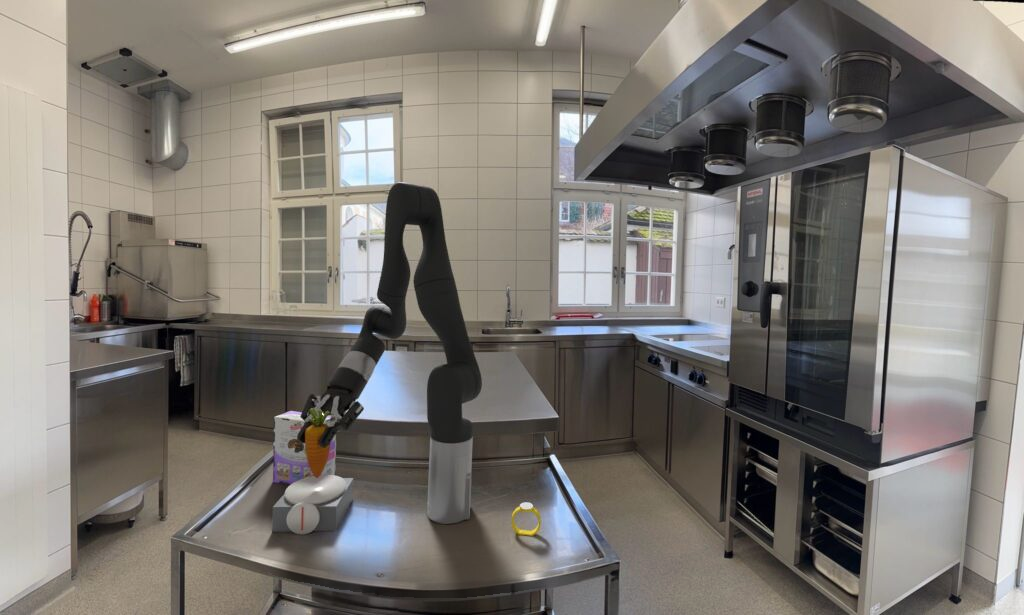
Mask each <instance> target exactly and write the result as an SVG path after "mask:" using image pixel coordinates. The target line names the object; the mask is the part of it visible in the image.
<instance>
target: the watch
mask: <svg viewBox="0 0 1024 615" xmlns="http://www.w3.org/2000/svg"><path fill="white" fill-rule="evenodd" d="M520 512H523V513H531V512H532V513H533V514H534V515H536V516H535V517H537V519H538V523H537V525H536V527H535V528H534V529H532V530H528V529H527V530H526V529H519V527H517V525H516V524H515V523H516V522H515V516H516V515H517V513H520ZM541 519H542V518H541V514H540V512H539V511H538V509H536V507H534V505H533V504H532V503H531V502H522V503H520V504H519V506H517V507H516V508H515V509H514V511H513V512H512V515H511V520H510V524H511V527H512V529H513V532H515V533H516V534H517V535H518V536H519V535H521V536H528V537H529V536H530V537H534V535H536V534H537V533H538V532H539V531H540V529H541V523H542V520H541Z"/></svg>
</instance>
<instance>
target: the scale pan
mask: <svg viewBox="0 0 1024 615" xmlns="http://www.w3.org/2000/svg"><path fill="white" fill-rule="evenodd" d="M343 478H344V477H341V476H338V475H336V474H335V475H320V476H319V477H318V478H316V477H314V476H311V477H307V478H303V479H301V480H298V481H296V482H294V483H292V484H291V485H288V487H287V488H285V491H284V494H285V499H286V501H287V502H289V503H291V504H294V505H296V504H298V503H302V502H307V503H311V504H313V505H317V504H322V503H325V502H328V501H331V500H333V499H335V498H337V497H339V496H340V495H341V494H342V493H343V492H344V491H345V489H346V482H345V480H344V479H343Z"/></svg>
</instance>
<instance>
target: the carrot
mask: <svg viewBox="0 0 1024 615" xmlns="http://www.w3.org/2000/svg"><path fill="white" fill-rule="evenodd" d="M309 411H310V413H311V415H312V416H313V418H314V420H313V419H312V418H309V419H308V420H310V421H311V422H312V423H313V425H311V426H310V427H308V428H307V429H306V431H305V451H306V457H307V461H308V465H309V468H310V470H311V472H312V474H313V475H314V477H316V478H318V477H319V476H320V475H321V473H322V472H323V470H324V468H325V465H326V463H327V459H328V455H329V450H330V444H329V445H327V447H326V448H323V447H321V446H320V445H319V444H318V441H319V440H320V438H321V436H322V435H323V433H324V431H325V430H326V428H327V427H329V426H328V425H326V424H323V423H324V421H325V419H326V418H327V416H328V415H329V413H330V412H329V411H326V412H325V414H324V416H323V412H322V410H318V414H319V417H318V415H317V413H316V411H315V410H314V408H311V409H310V410H309ZM329 416H330V415H329Z"/></svg>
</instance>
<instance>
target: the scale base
mask: <svg viewBox="0 0 1024 615" xmlns="http://www.w3.org/2000/svg"><path fill="white" fill-rule="evenodd" d="M342 478H343V479H344V480H345V482H346V489H345V491H344V492H343V493H342V494H341V495H340V496H339V497H337V498H335V499H333V500H331V501H328V502H325V503H322V504H317V505H313V504H311V503H307V502H302V503H298V504H296V505H294V504H291V503H289V502H287V501H286V499H285V493H284V494H283V495H282V496H281V497H280V498H279V499H278V500H277V502H276V503H275V504H274V505H273V506H272V518H271V520H272V522H271V526H272V527H271V532H272V533H275V532H276V533H278V532H281V533H284V532H286V533H288V532H293V533H294V534H297V535H306V534H309V533H311V532H336V531H337V530H338V528H339V526H340V524H341V522H342V520H343V518H344V516H345V515H346V512H347V511H348V509H349V507H350V505H351V504H352V502H353V500H354V478H353V477H342ZM301 479H303V478H298V479H297V480H296V481H298V480H301ZM296 481H295V482H296Z"/></svg>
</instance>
